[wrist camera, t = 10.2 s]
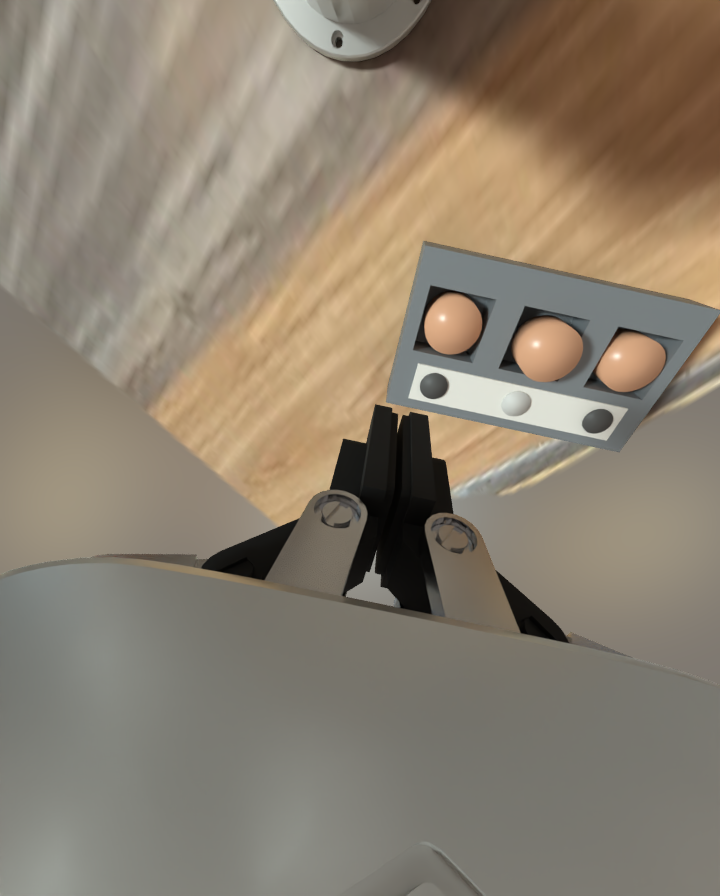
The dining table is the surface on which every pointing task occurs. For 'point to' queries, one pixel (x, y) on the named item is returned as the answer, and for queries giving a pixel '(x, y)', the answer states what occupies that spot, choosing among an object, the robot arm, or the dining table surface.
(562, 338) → the button
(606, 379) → the button
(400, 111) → the dining table surface
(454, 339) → the button
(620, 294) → the button board
